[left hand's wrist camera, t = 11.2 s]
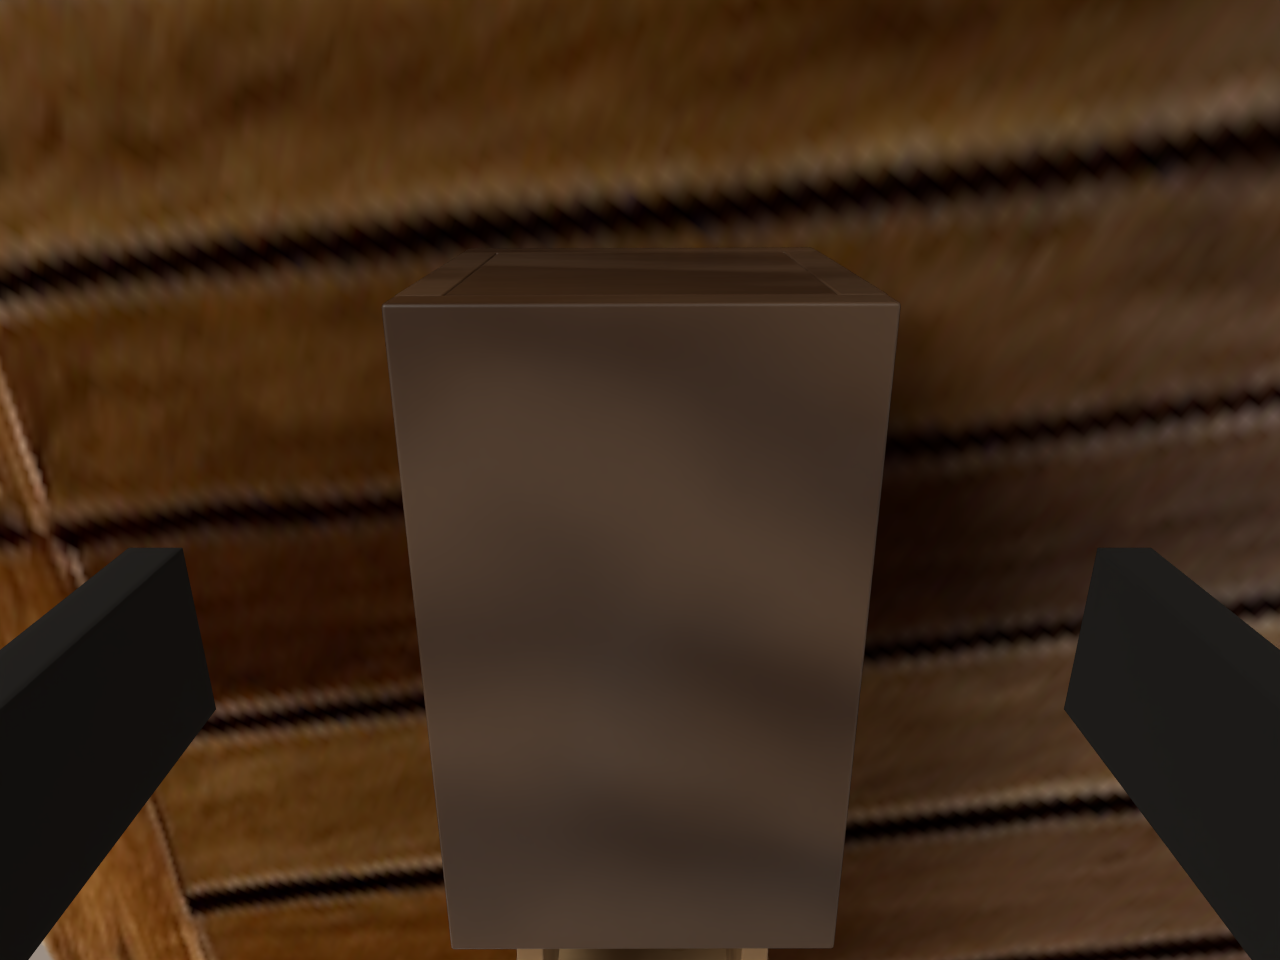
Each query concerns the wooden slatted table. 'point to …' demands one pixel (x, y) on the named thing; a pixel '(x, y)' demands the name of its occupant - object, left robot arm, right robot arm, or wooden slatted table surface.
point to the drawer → (644, 954)
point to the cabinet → (641, 584)
